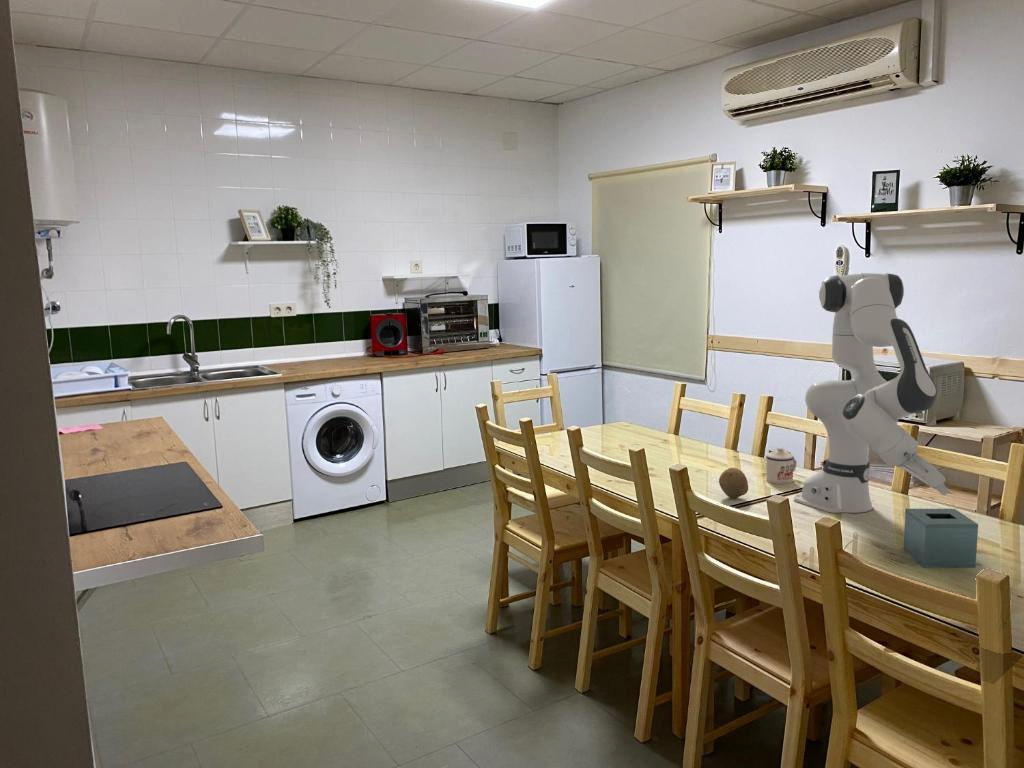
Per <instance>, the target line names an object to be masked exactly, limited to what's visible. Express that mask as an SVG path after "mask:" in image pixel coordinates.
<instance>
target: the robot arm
mask: <svg viewBox="0 0 1024 768" xmlns="http://www.w3.org/2000/svg"><path fill="white" fill-rule="evenodd" d="M904 295H905V288H904V284H903V280H902V278H901V277H900V276H899V275H897V274H894V273H888V272H887V273H874V272H873V273H871V272H869V273H868V272H867V273H866V272H864V273H863V272H861V273H853V274H844V275H838V274H837V275H832V276H828V277H826V278H824V280H822V282H821V286H820V289H819V291H818V296H819V297H818V298H819V302H820V305H821V307H822V309H824V310H825V311H826V312H829V313H830V312H831V313H834V317H833V323H832V338H831V340H832V343H831V345H832V346H831V358H832V359H833V362H834V363H835V364H836V365H837V366H839V367H841V368H842V369H845V370H846V371H849V373H850V376H851V379H847V380H825V381H819V382H815V383H812V384H811V385H810V386H809V387H808V389H807V391H806V393H805V399H804V401H805V405H806V407H807V409H808V411H809V413H811V414H812V415H814V416H815V417H816V418H817V419H819V420H820V422H821V423H822V424H823V426H824V427H825V430H826V433H827V438H828V458H826V459H825V460H823V461H820V464H819V465H820V467H822V466H823V468H822V470H820V471H818V472H817V473H815V474H814V475H812V476H811V477H809V478H807V479H806V480H805V481H804V483H803V485H802V490H801V492H798V493H797V494H795V495H794V498H793V501H794V502H796V503H801V504H803V505H806V506H810V507H813V508H817V509H819V510H821V511H825V512H829V513H833V514H835V513H836V514H837V513H848V514H849V513H850V514H851V513H853V514H855V513H866V512H870V511H871V510H873V505H872V502H871V495H870V489H869V488H870V487H869V480H870V476H871V473H870V472H871V469H870V467H871V466H870V465H871V463H870V462H869V452H870V448H871V449H872V451H873V452H874V453H875V454H876V455H877V456H878V457H879V458H880V459H881V460H882V461H883V462H884V463H885V464H886V465H887V466H889V467H896V468H900V469H901V470H904V471H905V472H907V473H909V474H910V475H912V476H913V477H915V478H917V479H918V480H920V481H921V482H923V484H926V485H927V486H929V487H931V488H932V489H934V490H937V491H938V492H939V494H941V495H943V496H946V495H947V494H948V493H950V489H949V488H948V487H947V486H946V485H945V483H946V478H945V475H943V474H942V473H941V472H940V471H939V470H938V469H936V467H935V466H934V465H932V464H931V463H930V462H929V461H928V460H927V459H925V458H924V457H922V455H921V456H920V455H919V450H918V447H919V443H918V441H917V440H916V439H915V438H914V437H913V436H912V435H911V434H910V433H909V432H908V431H907V430H906V429H904V427H902V426H901V425H898V422H899V420H901V419H904V418H906V417H908V416H910V415H913V414H918V413H921V412H925V411H928V410H930V409H931V408H932V407H933V406H934V404H935V402H936V399H937V395H938V390H937V385H936V383H935V382H934V380H933V378H932V376H931V375H930V373H929V372H928V370H927V367H926V364H925V362H924V359H923V355H922V353H921V350H920V347H919V345H918V343H917V342H918V341H917V340H916V337H915V335H914V333H913V330H912V329H911V327H910V325H909V324H908V323H907V322H906V321H905V320H903V319H901V318H898V315H897V313H896V309H897V308H898V307H899V306H900V305H902V301H903V298H904ZM874 347H875V348H886V347H892V348H893V350H894V353H895V356H896V359H897V362H898V365H899V368H900V371H899V373H898V375H897V376H896V377H894V378H892V379H890V380H888V381H887V380H886V378H885V379H884V378H883V376H882V375H881V374H880V373H879V370H878V369H877V366H876V364H875V360H874Z"/></svg>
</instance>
